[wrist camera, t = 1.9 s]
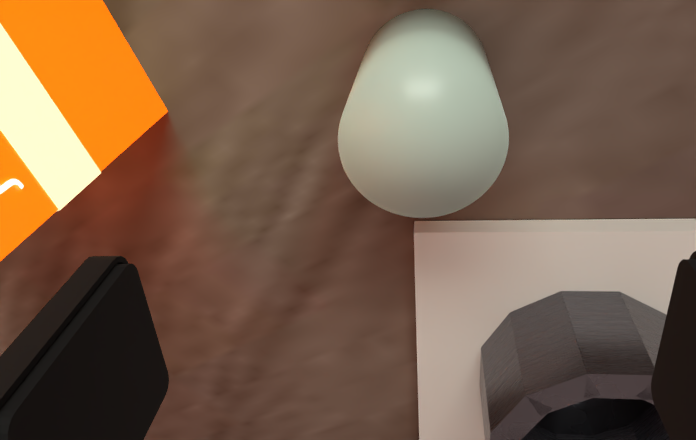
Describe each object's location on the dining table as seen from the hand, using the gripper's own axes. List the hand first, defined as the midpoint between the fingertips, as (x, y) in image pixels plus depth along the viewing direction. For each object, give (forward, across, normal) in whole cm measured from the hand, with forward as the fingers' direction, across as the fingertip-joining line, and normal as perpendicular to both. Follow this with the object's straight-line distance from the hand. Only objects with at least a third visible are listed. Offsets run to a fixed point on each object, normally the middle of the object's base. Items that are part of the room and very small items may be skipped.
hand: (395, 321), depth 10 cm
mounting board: (+14, -8, +14) cm, 21 cm away
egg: (+14, -1, 0) cm, 15 cm away
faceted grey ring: (+14, -8, +14) cm, 21 cm away
